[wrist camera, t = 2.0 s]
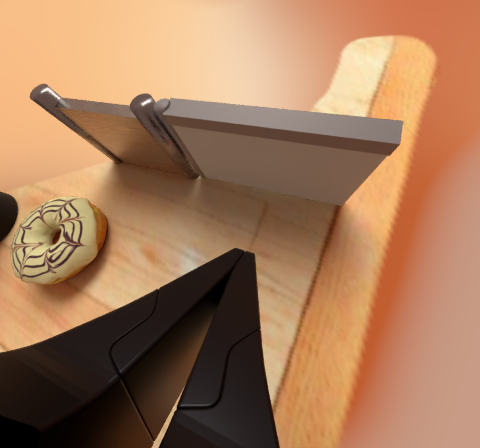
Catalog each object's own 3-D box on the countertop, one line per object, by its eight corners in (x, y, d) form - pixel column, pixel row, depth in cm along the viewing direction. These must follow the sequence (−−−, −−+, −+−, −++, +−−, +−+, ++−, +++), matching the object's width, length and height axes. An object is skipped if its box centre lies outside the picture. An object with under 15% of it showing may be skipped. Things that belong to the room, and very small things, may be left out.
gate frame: (111, 162, 27) (26, 99, 18) (118, 150, 28) (37, 83, 18) (196, 180, 24) (146, 114, 14) (202, 167, 24) (156, 94, 15)
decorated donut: (120, 259, 23) (92, 255, 19) (43, 298, 23) (1, 302, 19) (104, 191, 26) (77, 177, 23) (37, 226, 26) (0, 218, 23)
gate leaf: (197, 177, 23) (150, 112, 14) (202, 166, 24) (158, 96, 15) (341, 207, 19) (400, 144, 10) (343, 194, 20) (403, 120, 11)
